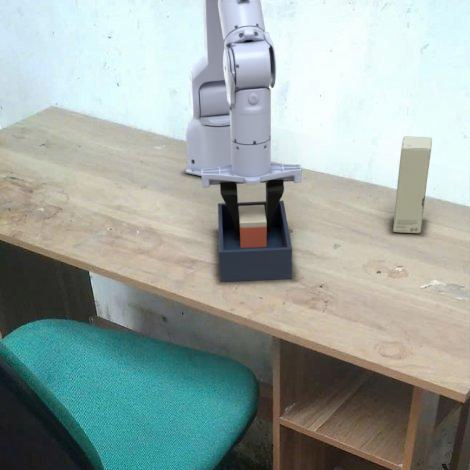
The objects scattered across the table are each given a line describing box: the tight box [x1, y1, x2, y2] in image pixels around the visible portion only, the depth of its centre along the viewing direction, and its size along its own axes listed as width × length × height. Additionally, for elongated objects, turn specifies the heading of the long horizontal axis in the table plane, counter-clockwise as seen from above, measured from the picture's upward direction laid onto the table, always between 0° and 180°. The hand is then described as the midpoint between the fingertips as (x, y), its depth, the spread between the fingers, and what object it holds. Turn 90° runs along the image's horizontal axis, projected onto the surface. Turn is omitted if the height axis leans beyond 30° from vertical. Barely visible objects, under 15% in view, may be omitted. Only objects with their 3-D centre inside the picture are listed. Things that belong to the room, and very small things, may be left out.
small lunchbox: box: [238, 205, 267, 248], centre depth 121 cm, size 6×4×4 cm, turn 2°
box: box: [392, 135, 433, 234], centre depth 121 cm, size 5×4×13 cm
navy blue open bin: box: [217, 200, 293, 283], centre depth 119 cm, size 16×10×5 cm, turn 2°
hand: (252, 230), depth 122 cm, fingers closed on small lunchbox, 4 cm apart
